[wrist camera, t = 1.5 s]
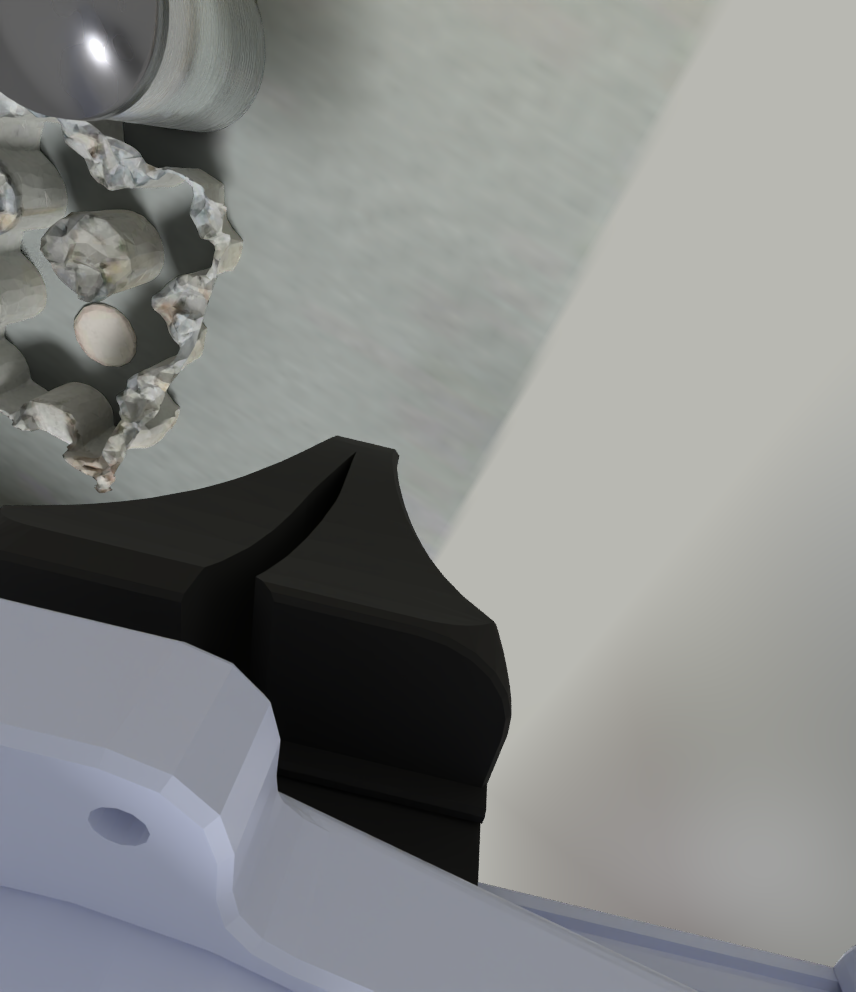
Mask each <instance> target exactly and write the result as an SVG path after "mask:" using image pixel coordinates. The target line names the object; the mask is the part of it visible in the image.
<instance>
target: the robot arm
mask: <svg viewBox="0 0 856 992" xmlns="http://www.w3.org/2000/svg"><path fill="white" fill-rule="evenodd" d="M398 459H399V455H398V453H397V452H396V450H395V449H391V448H387V447H383V446H378V445H374V444H370V443H366V442H361V441H357V440H353V439H349V438H345V437H340V436H335V437H332V438H330V439H328V440H326V441H324V442H321V443H319V444H317V445H315V446H313V447H311V448H309V449H307V450H305V451H303V452H301V453H299V454H297V455H295V456H292V457H290V458H288V459H286V460H284V461H282V462H279V463H277V464H274V465H272V466H269V467H266V468H264V469H261V470H259V471H256V472H254V473H251V474H249V475H246V476H243V477H240V478H237V479H234V480H231V481H228V482H224V483H220V484H217V485H213V486H209V487H205V488H201V489H197V490H192V491H187V492H181V493H176V494H170V495H165V496H159V497H154V498H147V499H139V500H131V501H122V502H110V503H98V504H81V505H31V506H12V505H5V506H3V507H1V508H0V992H856V945H854V946H852V947H851V948H850V949H849V950H848V951H846V952H845V953H844V954H843V956H842V957H841V958H840V959H839V960H838V962H837V963H836V965H835V966H834V967H830V966H826V965H822V964H818V963H813V962H809V961H805V960H801V959H797V958H792V957H788V956H784V955H780V954H776V953H772V952H767V951H763V950H759V949H755V948H751V947H746V946H742V945H738V944H734V943H730V942H726V941H722V940H717V939H713V938H709V937H704V936H701V935H697V934H692V933H688V932H684V931H680V930H676V929H671V928H667V927H663V926H659V925H655V924H651V923H647V922H642V921H638V920H634V919H630V918H626V917H621V916H617V915H613V914H608V913H605V912H601V911H596V910H592V909H588V908H584V907H580V906H576V905H571V904H567V903H563V902H559V901H555V900H551V899H546V898H542V897H538V896H534V895H530V894H525V893H521V892H517V891H513V890H508V889H505V888H501V887H496V886H492V885H488V884H484V883H479V882H478V870H479V844H480V823H481V824H482V822H483V820H484V818H485V812H486V796H487V783H488V780H489V778H490V776H491V773H492V771H493V768H494V766H495V764H496V761H497V759H498V756H499V754H500V751H501V749H502V746H503V744H504V742H505V740H506V737H507V734H508V730H509V725H510V720H511V693H510V685H509V678H508V673H507V667H506V662H505V657H504V652H503V648H502V644H501V640H500V637H499V633H498V630H497V626H496V624H495V623H494V621H493V620H491V619H490V618H489V617H488V616H486V615H485V614H484V613H483V612H482V611H480V610H479V609H478V608H477V607H475V606H474V605H473V604H472V603H471V602H469V601H468V600H467V599H466V598H465V597H463V596H462V595H461V594H460V593H459V592H458V591H457V590H456V589H455V587H454V586H453V585H452V584H451V583H450V582H449V581H448V580H447V579H446V578H445V577H444V576H443V575H442V573H441V572H440V571H439V569H438V568H437V567H436V566H435V564H434V563H433V562H432V560H431V559H430V558H429V556H428V554H427V553H426V551H425V549H424V548H423V546H422V544H421V542H420V540H419V539H418V537H417V535H416V533H415V531H414V528H413V526H412V524H411V521H410V519H409V516H408V513H407V511H406V508H405V505H404V502H403V498H402V494H401V490H400V486H399V481H398V473H397V464H398Z"/></svg>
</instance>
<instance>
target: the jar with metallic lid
mask: <svg viewBox="0 0 856 992" xmlns="http://www.w3.org/2000/svg"><path fill="white" fill-rule="evenodd" d="M264 65H265V38H264V30H263V25H262V20H261V16H260V13H259V10H258V7H257V4H256V2H255V0H0V92H1V93H2V94H4V95H5V96H6V97H8V98H9V99H11V100H13V101H14V102H16V103H18V104H19V105H21V106H23V107H25V108H27V109H29V110H32V111H34V112H36V113H39V114H43V115H46V116H49V117H55V118H61V119H69V120H76V121H98V120H104V119H108V120H115V121H122V122H129V123H136V124H143V125H150V126H158V127H165V128H172V129H179V130H186V131H193V132H212V131H217V130H220V129H223V128H225V127H227V126H229V125H231V124H233V123H234V122H235V121H237V120H238V119H239V118H240V117H241V116H242V115H243V114H244V113H245V112H246V111H247V110H248V108H249V107H250V105H251V104H252V102H253V101H254V99H255V97H256V95H257V93H258V90H259V87H260V84H261V81H262V76H263V72H264Z"/></svg>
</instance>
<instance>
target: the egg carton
mask: <svg viewBox="0 0 856 992" xmlns="http://www.w3.org/2000/svg"><path fill="white" fill-rule="evenodd" d="M44 122H52V123H60V124H61V125H62V133H63V138H64V141H65V143H66V144H68V145H69V146H70V147H71V148H72V149H73V150H75V151H76V152H77V153H79V154H80V155H81V156H82V157H84V159H85V161H86V164H87V166H88V169H89V172H90V174H91V176H92V177H93V178H94V179H95V180H96V181H97V182H98V183H100V184H102V185H104V186H105V187H106V188H107V189H109V190H111V191H113V190H118V189H123V188H131V189H133V188H170V187H176V186H178V185H180V184H182V183H183V182H184V181H186V182H188V183H189V184H190V185H191V186H192V189H193V200H192V204H191V209H190V216H191V218H192V220H193V222H194V223H195V225H196V228H197V230H198V233H199V236H200V238H201V239H207V240H209V241H210V242H211V243H212V244H213V245H215V253H214V257H213V264H212V266H211V268H208V269H204V270H200V271H197V272H193V273H189V274H185V275H180V276H177V277H176V278H174V279H173V280H171V281H170V282H169V283H167V284H166V285H165V287H164V288H163V289H162V290H161V291H159V292H158V293H156V294H155V295H153V296H152V304H151V307H152V308H153V309H154V310H155V311H156V312H158V313H159V314H160V315H161V316H162V317H163V319H164V320H165V321H166V324H167V327H168V331H169V333H170V335H171V337H172V338H173V340H174V341H175V342H176V343H177V344H178V345H179V346H180V349H179V352H178V354H177V355H175V356H172V357H170V358H168V359H166V360H164V361H162V362H160V363H158V364H156V365H154V366H152V367H150V368H148V369H144V370H143V371H141V372H140V373H136V374H135V375H133V376H132V377H130V378H129V379H128V380H127V387H126V389H125V390H124V391H123V392H121V393H120V394H118V395H116V399H117V402H118V404H119V406H120V411H119V415H120V417H121V421H120V422H119V424H118V425H117V427H115V426H114V418H113V411H112V408H111V406H110V404H109V402H108V401H107V400H106V398H105V397H104V396H103V395H102V394H101V393H100V392H99V391H98V390H96V389H95V388H93V387H91V386H89V385H86V384H83V383H78V382H69V383H67V384H64V385H62V386H59V387H57V388H55V389H52V390H50V391H49V392H48V391H47V390H46V389H44V388H43V387H41V386H39V385H38V384H36V383H35V382H33V381H32V379H31V377H30V371H29V367H28V364H27V362H26V359H25V358H24V356H23V355H22V353H21V352H20V351H19V350H18V349H17V348H16V347H15V346H14V345H13V344H11V343H10V342H9V341H8V340H7V339H6V338H5V327H6V325H9V324H12V323H15V322H19V321H23V320H26V319H29V318H33V317H35V316H37V315H38V314H40V313H41V312H42V310H43V309H44V307H45V305H46V299H47V294H46V287H45V283H44V281H43V279H42V276H41V275H40V273H39V272H38V270H37V269H36V267H35V266H34V265H33V264H32V263H31V262H30V261H29V260H28V259H27V258H26V257H25V256H24V255H23V254H22V253H21V242H22V237H23V231H27V230H35V229H44V228H49V229H48V231H47V232H46V233H45V234H44V236H43V237H42V238H41V248H40V250H41V252H42V253H43V254H44V256H45V257H46V259H47V260H48V261H49V262H51V265H52V268H53V270H54V272H55V273H56V275H57V276H58V278H59V279H60V280H61V281H62V282H63V283H64V284H65V285H67V286H68V287H69V288H70V289H71V290H73V291H74V292H76V293H77V294H78V299H80V300H83V301H85V302H100V301H102V300H104V299H106V298H107V297H109V296H110V295H112V294H115V293H118V292H121V291H124V290H127V289H130V288H133V287H136V286H139V285H142V284H145V283H148V282H150V281H152V280H153V279H155V278H156V277H157V276H158V275H159V274H160V272H161V270H162V267H163V265H164V248H163V244H162V240H161V238H160V236H159V234H158V232H157V231H156V229H155V228H154V226H152V225H151V224H150V223H149V222H148V220H147V219H146V218H145V217H143V216H142V215H140V214H137V213H136V212H134V211H129V210H117V209H113V210H102V211H82V212H71V213H70V214H69V215H68V216H66V217H65V218H63V217H64V215H65V212H66V209H67V203H68V201H67V198H68V197H67V191H66V187H65V185H64V182H63V180H62V178H61V176H60V174H59V173H58V171H57V170H56V168H55V167H54V165H53V164H52V163H51V162H50V161H49V160H48V159H47V158H46V157H45V156H44V155H43V154H42V152H41V151H40V141H41V135H42V130H43V126H44ZM226 211H227V208H226V206H225V205H224V184H222V183H221V182H220V181H218V180H217V179H215V178H214V177H212V176H210V175H208V174H207V173H206V172H204V171H202V170H201V169H199V168H194V169H193V168H178V167H168V166H166V167H163V168H156V167H153V166H151V165H149V164H147V163H146V162H145V161H144V159H143V158H142V156H141V154H140V153H139V152H138V151H137V150H136V149H134V148H133V147H132V146H130V145H128V144H126V143H124V132H123V122H122V121H115V120H108V119H104V120H98V121H76V120H69V119H61V118H55V117H49V116H46V115H43V114H39V113H36V112H34V111H32V110H29V109H27V108H25V107H23V106H21V105H19V104H18V103H16V102H14V101H13V100H11V99H9V98H8V97H6V96H5V95H4V94H2V93H1V92H0V412H1V413H2V414H4V415H6V416H8V417H9V418H10V419H11V420H12V421H13V424H12V425H13V426H14V427H16V428H18V429H20V430H25V431H35V430H39V429H41V430H45V431H47V432H48V433H50V434H52V435H53V436H55V437H57V438H59V439H61V440H63V441H65V442H67V443H69V444H70V445H68V446H67V448H68V450H67V451H66V452H65V453H64V454H63V458H64V460H66V461H67V462H68V463H69V464H70V465H71V466H73V467H74V468H76V469H78V470H79V471H81V472H83V473H85V474H87V475H90V476H93V478H94V479H95V480H96V481H97V485H95V486H96V487H94V488H95V489H96V490H97V491H98V492H99V493H105V492H108V491H111V490H112V489H111V488H110V487H109V486H110V485H111V484H112V483H113V482H114V481H115V478H116V477H115V476H114V474H115V472H116V470H117V468H118V467H119V465H120V464H121V462H122V461H123V459H124V458H125V455H126V450H127V449H131V448H148V447H151V446H153V445H155V444H157V443H158V442H159V441H160V440H161V439H162V438H164V436H165V435H166V433H167V432H168V431H169V430H170V429H172V427H173V426H174V425H175V423H176V421H177V419H178V415H179V412H180V407H179V406H178V405H177V404H175V403H174V401H173V400H172V399H171V397H170V396H169V394H168V393H167V391H166V390H167V388H168V387H169V385H170V383H171V382H172V381H173V380H174V378H175V377H176V376H177V375H178V373H179V372H180V370H183V369H184V367H185V366H186V365H188V364H190V363H192V362H193V361H194V360H197V359H198V358H200V357H201V356H202V353H203V349H204V341H205V335H206V332H207V328H206V327H205V326H204V325H203V323H202V321H203V318H204V315H205V312H206V308H207V305H208V302H209V299H210V295H211V292H212V289H213V287H214V284H215V281H216V279H217V274H221V273H223V272H229V271H233V270H234V268H235V266H236V264H237V263H238V261H239V259H240V256H241V253H242V247H243V240H242V239H241V238H240V236H239V235H238V234H237V233H236V232H235V231H234V230H233V228H232V227H231V225H230V223H229V221H228V220H227V216H226ZM74 330H75V335H76V339H77V341H78V342H79V344H80V346H81V348H82V349H83V350H84V352H85V353H86V354H87V355H88V356H89V357H90V358H91V359H93V360H95V361H96V362H98V363H100V364H102V365H104V366H112V367H121V366H123V365H125V364H127V363H129V362H130V361H131V360H132V358H133V357H134V356H135V354H136V347H137V344H136V342H137V339H136V336H135V332H134V330H133V328H132V326H131V324H130V322H129V321H128V320H127V318H126V317H125V316H124V315H123V314H122V313H121V312H119V311H118V310H117V309H116V308H114V307H111V306H109V305H106V304H96V303H94V304H91V305H88V306H86V307H84V308H83V309H82V310H81V311H80V313H79V314H78V316H77V317H76V319H75V320H74Z"/></svg>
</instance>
